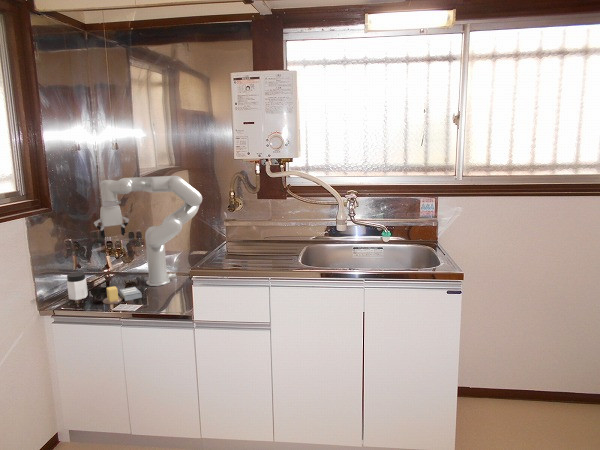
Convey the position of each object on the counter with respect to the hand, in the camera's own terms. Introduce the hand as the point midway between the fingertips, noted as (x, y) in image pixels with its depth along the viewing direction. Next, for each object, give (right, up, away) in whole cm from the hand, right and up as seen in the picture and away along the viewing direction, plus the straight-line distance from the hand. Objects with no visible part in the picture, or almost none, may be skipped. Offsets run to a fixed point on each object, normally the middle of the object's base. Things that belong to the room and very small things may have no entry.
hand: (113, 236), depth 233 cm
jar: (-14, -31, -8) cm, 35 cm away
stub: (+6, -31, -14) cm, 34 cm away
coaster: (+5, -32, -14) cm, 35 cm away
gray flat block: (+12, -30, -7) cm, 33 cm away
